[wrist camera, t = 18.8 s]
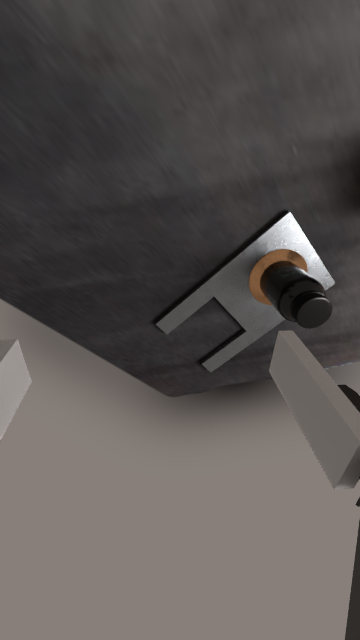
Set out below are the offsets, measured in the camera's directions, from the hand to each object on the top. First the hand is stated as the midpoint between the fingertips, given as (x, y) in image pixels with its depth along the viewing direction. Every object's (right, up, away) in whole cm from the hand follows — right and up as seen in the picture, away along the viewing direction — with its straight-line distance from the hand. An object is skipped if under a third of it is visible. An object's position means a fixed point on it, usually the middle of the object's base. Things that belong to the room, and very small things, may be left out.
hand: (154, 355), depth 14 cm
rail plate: (+13, +5, +35) cm, 38 cm away
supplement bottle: (+18, +9, +32) cm, 38 cm away
